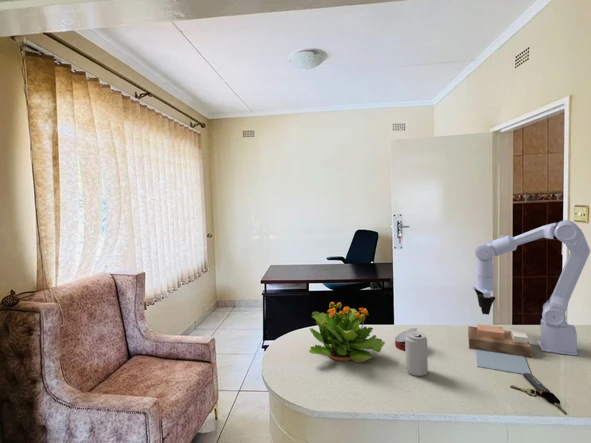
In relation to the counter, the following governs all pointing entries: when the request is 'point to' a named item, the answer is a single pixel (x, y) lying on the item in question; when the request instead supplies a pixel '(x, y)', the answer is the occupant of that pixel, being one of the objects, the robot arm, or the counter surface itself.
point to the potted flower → (344, 335)
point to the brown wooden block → (497, 343)
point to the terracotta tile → (490, 331)
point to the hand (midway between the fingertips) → (484, 310)
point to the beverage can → (416, 353)
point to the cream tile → (519, 336)
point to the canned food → (402, 339)
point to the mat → (502, 362)
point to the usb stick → (534, 382)
